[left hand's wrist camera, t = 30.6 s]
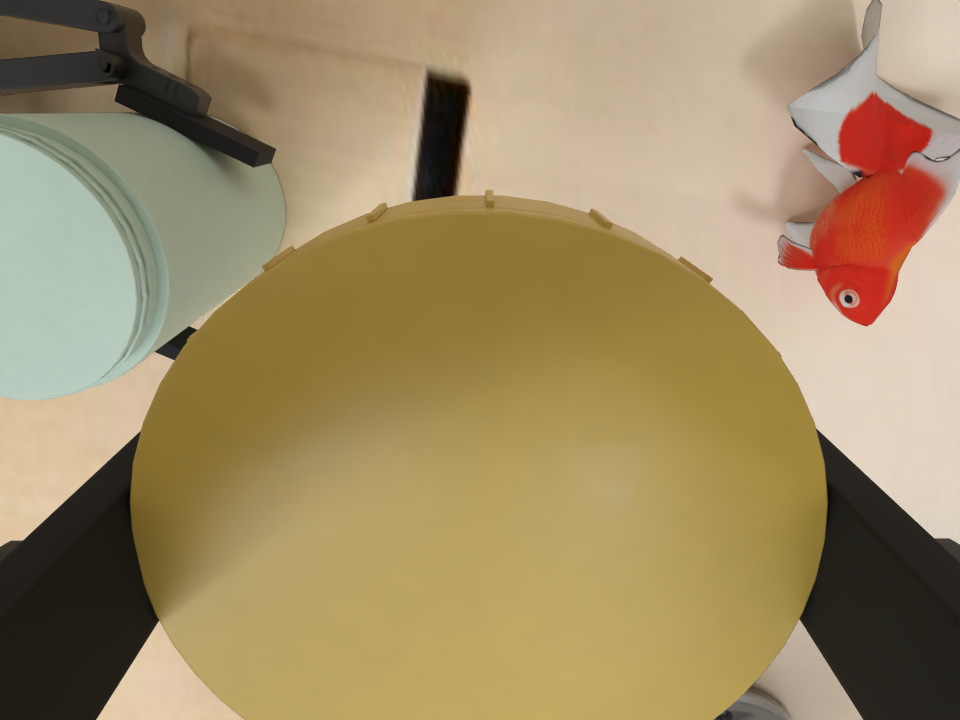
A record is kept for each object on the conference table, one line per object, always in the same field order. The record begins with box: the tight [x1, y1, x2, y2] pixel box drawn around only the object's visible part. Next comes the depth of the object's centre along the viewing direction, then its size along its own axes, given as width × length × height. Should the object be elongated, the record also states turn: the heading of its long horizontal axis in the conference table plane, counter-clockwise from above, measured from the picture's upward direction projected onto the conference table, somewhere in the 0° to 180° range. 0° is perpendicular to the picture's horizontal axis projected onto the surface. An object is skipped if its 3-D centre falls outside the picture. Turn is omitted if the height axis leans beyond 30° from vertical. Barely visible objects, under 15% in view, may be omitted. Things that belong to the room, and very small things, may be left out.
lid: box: [130, 190, 828, 720], centre depth 11 cm, size 11×11×2 cm
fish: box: [778, 0, 960, 326], centre depth 33 cm, size 11×16×10 cm
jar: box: [0, 113, 286, 400], centre depth 30 cm, size 10×10×17 cm
